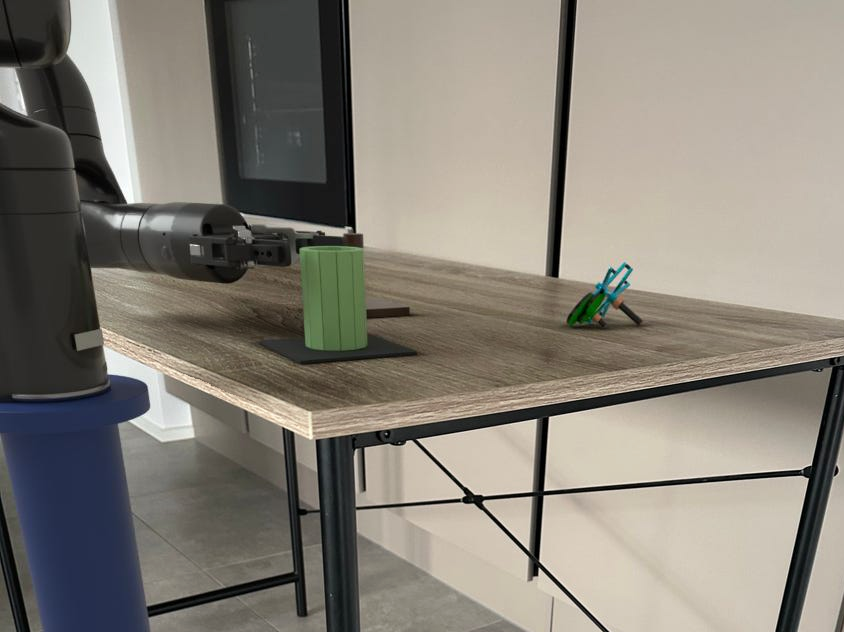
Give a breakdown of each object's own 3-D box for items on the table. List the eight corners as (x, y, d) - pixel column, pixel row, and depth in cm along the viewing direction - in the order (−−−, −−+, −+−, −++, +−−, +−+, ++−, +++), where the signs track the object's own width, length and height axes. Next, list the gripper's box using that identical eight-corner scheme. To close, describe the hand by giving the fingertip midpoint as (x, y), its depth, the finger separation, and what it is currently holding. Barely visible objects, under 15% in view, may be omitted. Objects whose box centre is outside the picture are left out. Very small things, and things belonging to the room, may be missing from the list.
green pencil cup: (319, 352, 90) (313, 251, 86) (297, 343, 95) (291, 246, 91) (376, 348, 93) (373, 250, 89) (352, 339, 97) (348, 245, 93)
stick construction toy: (600, 296, 117) (629, 246, 111) (642, 332, 117) (673, 285, 110) (547, 334, 110) (574, 284, 104) (591, 374, 110) (621, 325, 103)
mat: (300, 364, 87) (300, 360, 86) (259, 343, 96) (259, 340, 96) (417, 354, 92) (417, 351, 92) (367, 335, 101) (367, 333, 101)
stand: (333, 320, 111) (329, 237, 107) (304, 309, 119) (299, 231, 114) (410, 315, 115) (408, 235, 111) (376, 305, 123) (374, 230, 119)
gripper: (136, 204, 90) (264, 210, 83) (240, 201, 101) (361, 207, 94) (147, 286, 94) (271, 299, 87) (246, 275, 105) (363, 286, 98)
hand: (318, 251), depth 91 cm, fingers open, 8 cm apart
